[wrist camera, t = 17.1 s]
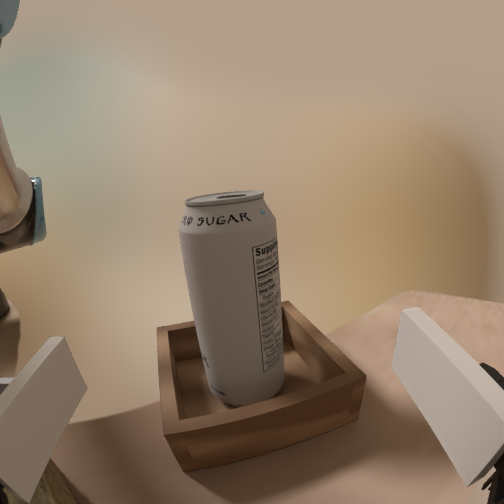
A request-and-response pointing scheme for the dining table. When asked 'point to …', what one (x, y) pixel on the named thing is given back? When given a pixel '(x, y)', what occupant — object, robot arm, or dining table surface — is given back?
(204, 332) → the energy drink can
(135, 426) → the dining table surface
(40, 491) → the stone block
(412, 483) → the dining table surface
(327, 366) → the walnut bin
